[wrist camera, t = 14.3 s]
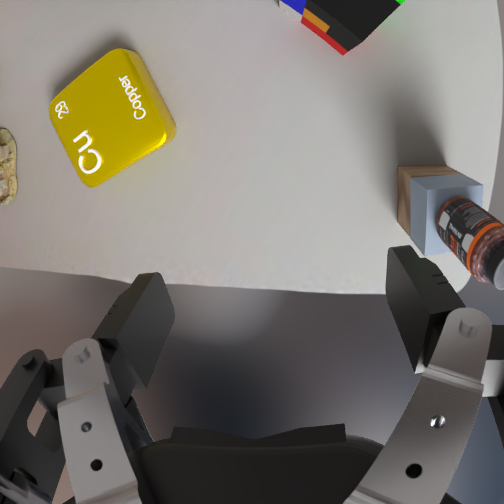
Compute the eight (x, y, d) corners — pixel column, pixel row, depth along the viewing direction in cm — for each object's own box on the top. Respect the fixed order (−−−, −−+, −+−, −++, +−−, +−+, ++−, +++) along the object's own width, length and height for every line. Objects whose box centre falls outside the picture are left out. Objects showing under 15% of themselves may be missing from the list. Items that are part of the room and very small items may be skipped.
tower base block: (397, 166, 37) (411, 175, 33) (446, 165, 36) (463, 174, 32) (397, 221, 41) (409, 236, 37) (443, 217, 40) (459, 231, 35)
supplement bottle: (424, 223, 30) (475, 279, 20) (457, 183, 28) (519, 226, 18) (451, 251, 32) (499, 309, 22) (482, 216, 29) (538, 264, 19)
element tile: (182, 135, 38) (170, 140, 34) (101, 184, 42) (85, 194, 38) (136, 45, 33) (120, 41, 28) (61, 104, 37) (41, 107, 32)
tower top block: (410, 177, 33) (426, 189, 29) (462, 173, 32) (483, 185, 27) (410, 237, 37) (424, 256, 32) (459, 230, 35) (477, 247, 31)
